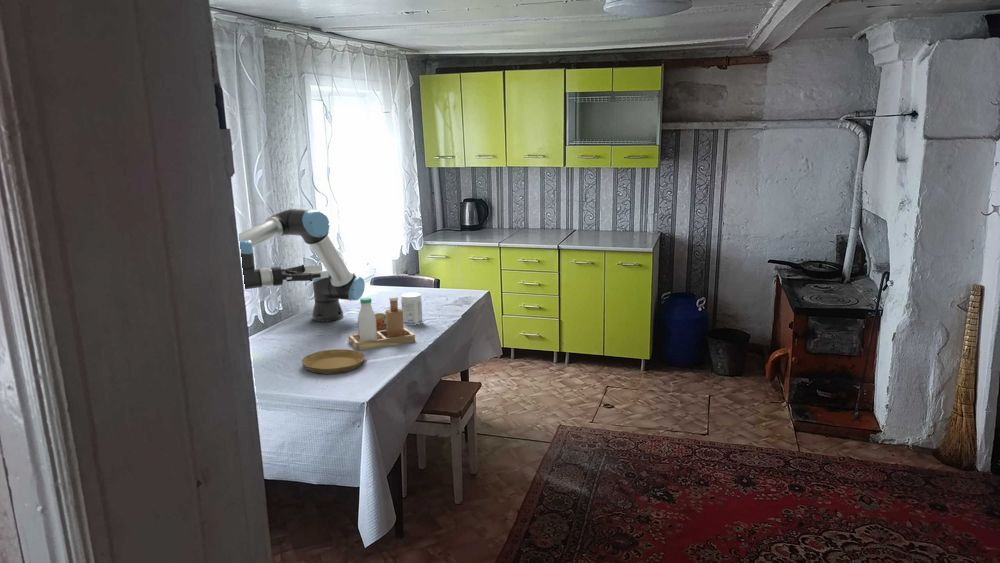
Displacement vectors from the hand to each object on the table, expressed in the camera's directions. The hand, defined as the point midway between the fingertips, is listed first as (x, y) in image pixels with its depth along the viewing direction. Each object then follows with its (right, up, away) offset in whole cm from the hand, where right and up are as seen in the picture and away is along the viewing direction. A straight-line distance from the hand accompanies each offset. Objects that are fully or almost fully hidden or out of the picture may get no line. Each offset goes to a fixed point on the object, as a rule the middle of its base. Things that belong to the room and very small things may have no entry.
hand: (324, 270), depth 279 cm
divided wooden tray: (+22, -31, +11) cm, 40 cm away
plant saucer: (+8, -38, -15) cm, 42 cm away
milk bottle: (+17, -31, +8) cm, 36 cm away
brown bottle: (+27, -30, +14) cm, 43 cm away
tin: (+15, -28, +30) cm, 43 cm away
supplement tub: (+31, -25, +41) cm, 57 cm away
